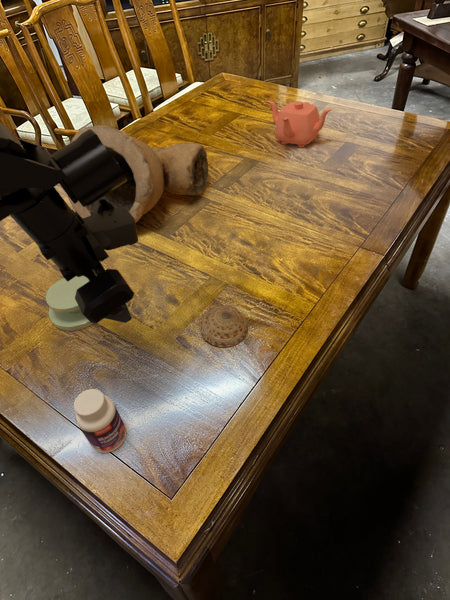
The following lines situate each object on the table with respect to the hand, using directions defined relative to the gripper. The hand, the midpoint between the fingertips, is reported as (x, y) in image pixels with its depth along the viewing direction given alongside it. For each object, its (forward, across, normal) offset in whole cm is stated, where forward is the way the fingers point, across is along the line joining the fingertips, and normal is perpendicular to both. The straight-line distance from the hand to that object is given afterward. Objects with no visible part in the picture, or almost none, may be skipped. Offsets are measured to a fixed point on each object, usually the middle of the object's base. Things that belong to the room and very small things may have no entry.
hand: (116, 301), depth 61 cm
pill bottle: (+12, -10, +13) cm, 20 cm away
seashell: (+18, -2, -12) cm, 21 cm away
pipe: (+20, +46, -18) cm, 53 cm away
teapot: (+32, +48, -65) cm, 87 cm away
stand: (+13, +18, +8) cm, 24 cm away
